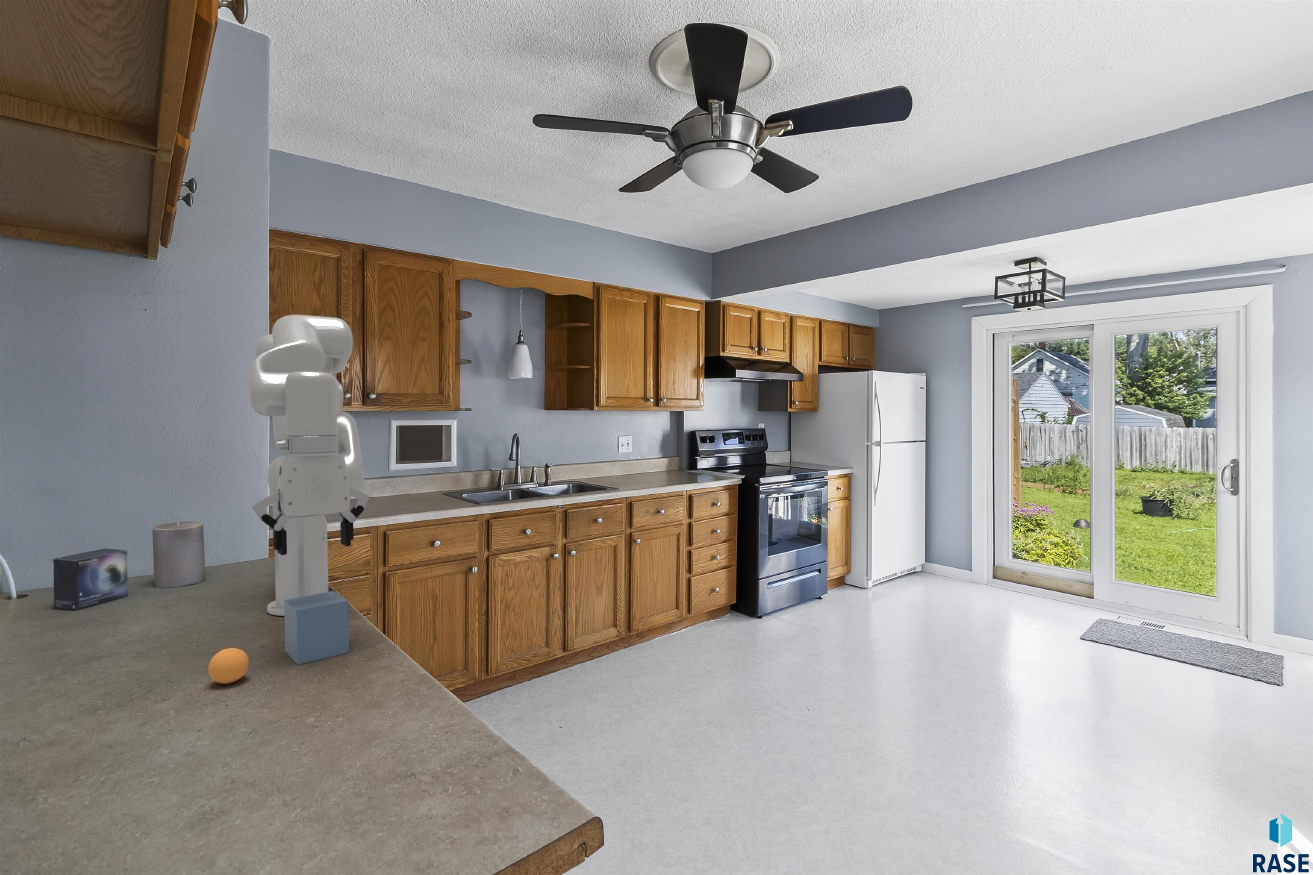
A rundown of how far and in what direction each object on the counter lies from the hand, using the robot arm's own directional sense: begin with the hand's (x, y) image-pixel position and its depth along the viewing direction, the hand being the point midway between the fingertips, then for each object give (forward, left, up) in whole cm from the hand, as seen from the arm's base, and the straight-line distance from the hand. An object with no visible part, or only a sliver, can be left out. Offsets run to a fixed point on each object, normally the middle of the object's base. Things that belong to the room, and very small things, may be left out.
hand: (315, 549), depth 105 cm
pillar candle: (-61, -36, -18) cm, 73 cm away
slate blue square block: (0, 0, -17) cm, 17 cm away
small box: (-49, -48, -18) cm, 71 cm away
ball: (+8, -11, -15) cm, 20 cm away
